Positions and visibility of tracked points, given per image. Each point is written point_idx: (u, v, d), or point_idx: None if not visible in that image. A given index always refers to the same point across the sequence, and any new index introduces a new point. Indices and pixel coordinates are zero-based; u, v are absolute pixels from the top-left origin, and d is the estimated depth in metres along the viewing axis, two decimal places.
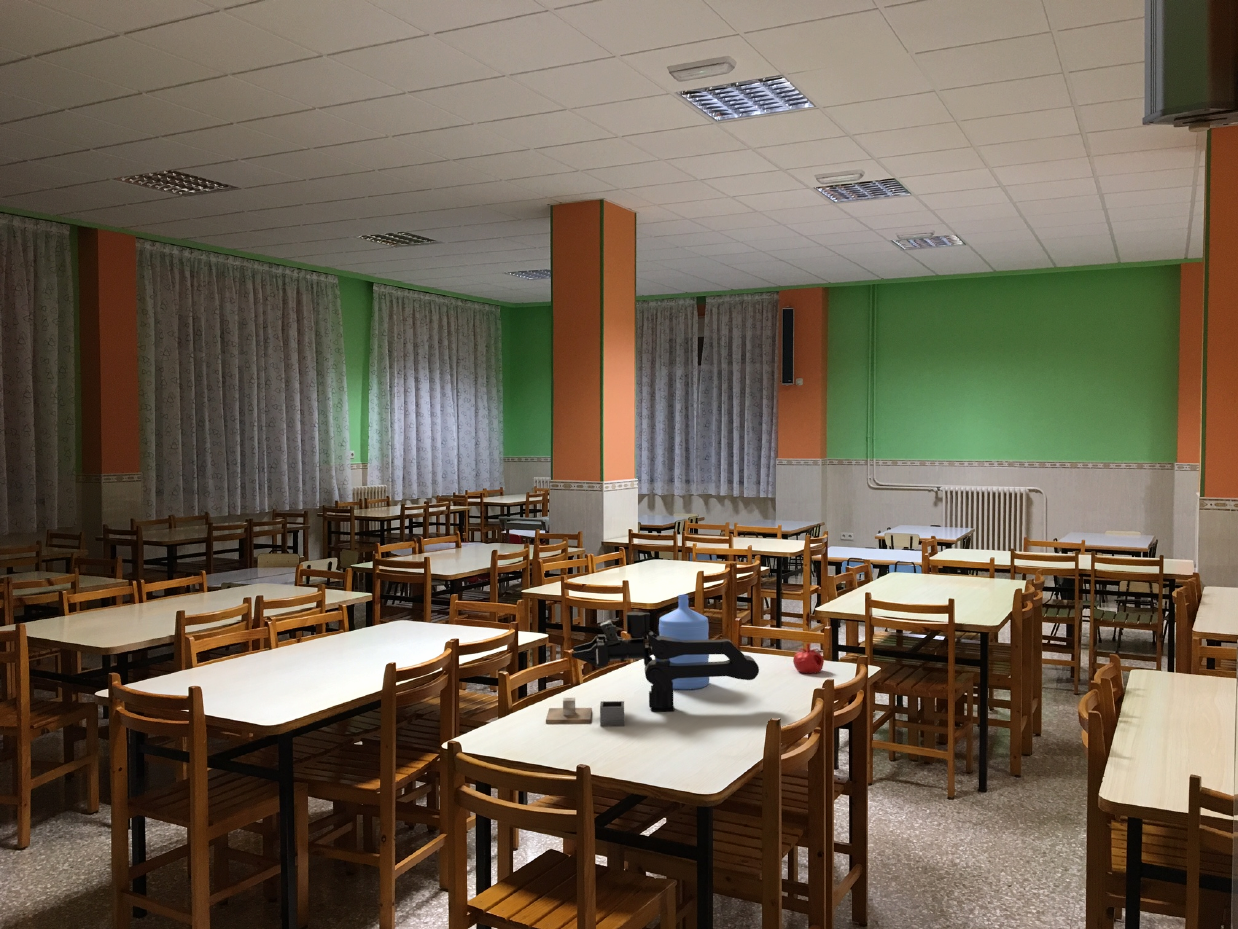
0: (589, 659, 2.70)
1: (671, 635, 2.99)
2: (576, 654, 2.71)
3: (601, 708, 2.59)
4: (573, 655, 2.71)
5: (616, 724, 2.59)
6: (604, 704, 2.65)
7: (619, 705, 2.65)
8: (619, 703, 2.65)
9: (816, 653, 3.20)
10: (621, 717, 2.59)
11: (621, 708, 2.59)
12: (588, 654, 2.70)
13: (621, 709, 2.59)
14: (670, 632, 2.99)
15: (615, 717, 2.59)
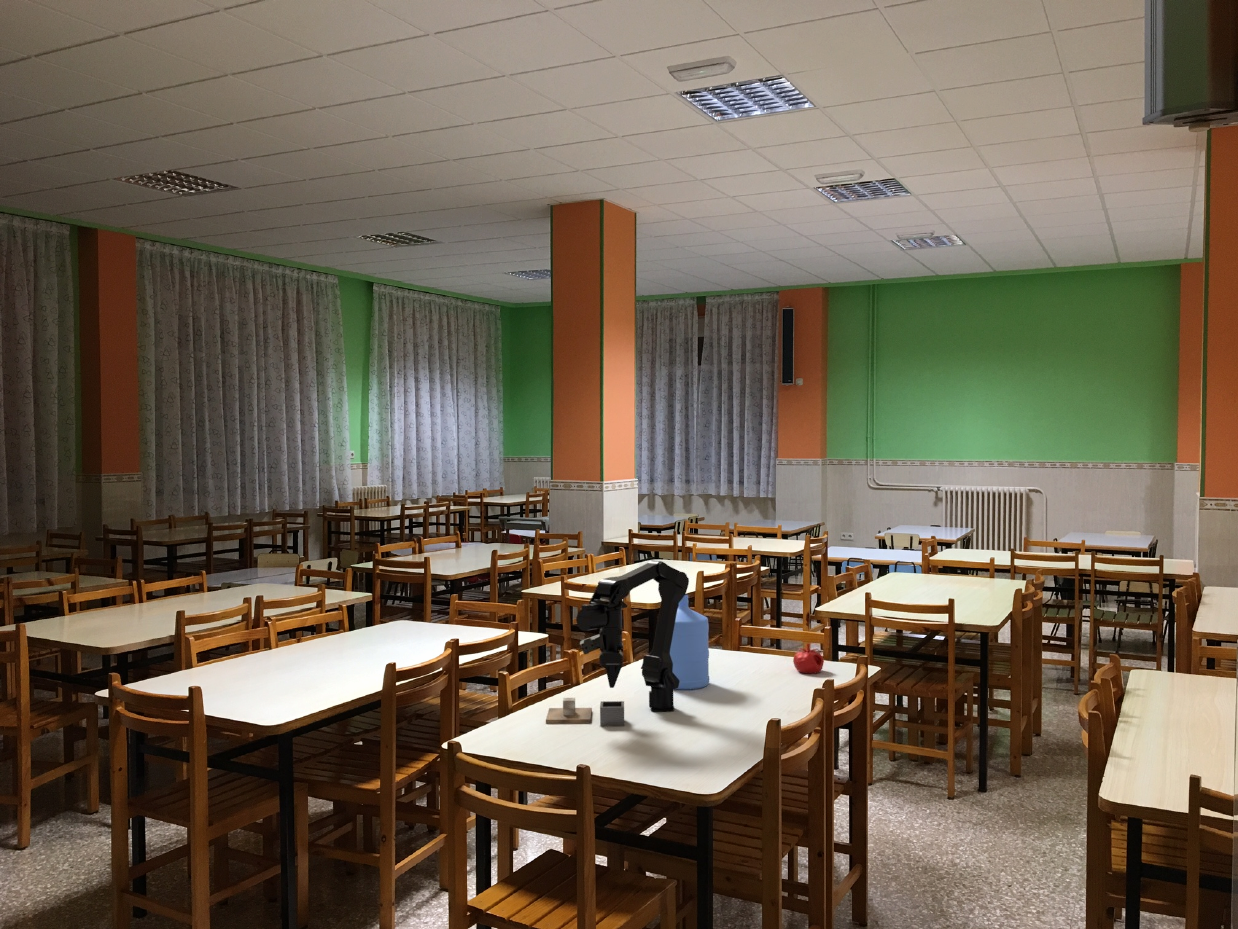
0: (616, 670, 2.56)
1: None
2: (611, 682, 2.57)
3: (601, 708, 2.59)
4: (611, 686, 2.58)
5: (616, 724, 2.59)
6: (604, 704, 2.65)
7: (619, 705, 2.65)
8: (619, 703, 2.65)
9: (816, 653, 3.20)
10: (621, 717, 2.59)
11: (621, 708, 2.59)
12: (611, 671, 2.57)
13: (621, 709, 2.59)
14: None
15: (615, 717, 2.59)
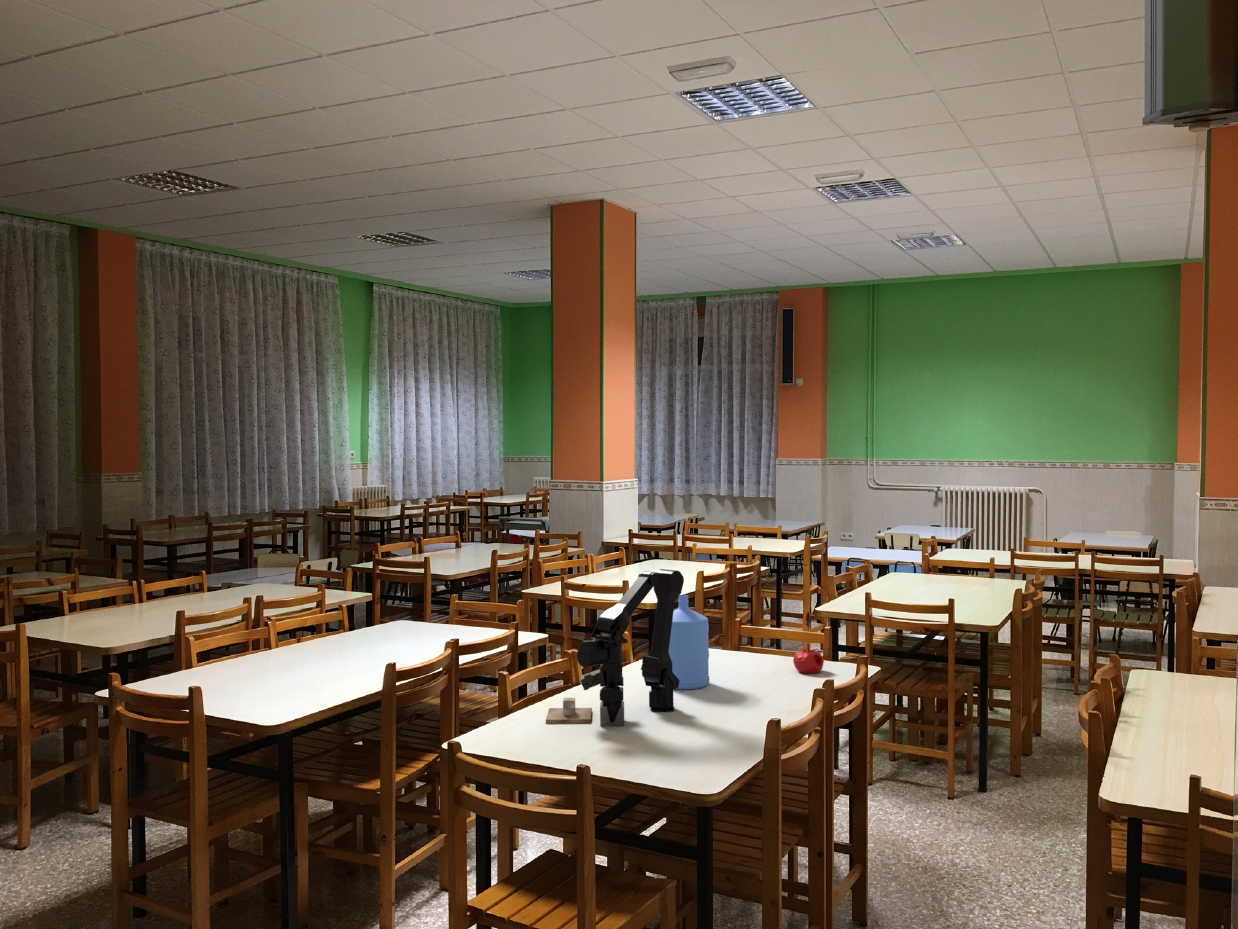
0: (616, 705, 2.58)
1: (671, 635, 2.99)
2: (611, 717, 2.59)
3: (601, 708, 2.59)
4: (612, 720, 2.59)
5: (616, 724, 2.59)
6: (604, 704, 2.65)
7: None
8: None
9: (816, 653, 3.20)
10: (621, 717, 2.59)
11: (621, 708, 2.59)
12: (611, 706, 2.58)
13: (621, 709, 2.59)
14: None
15: None
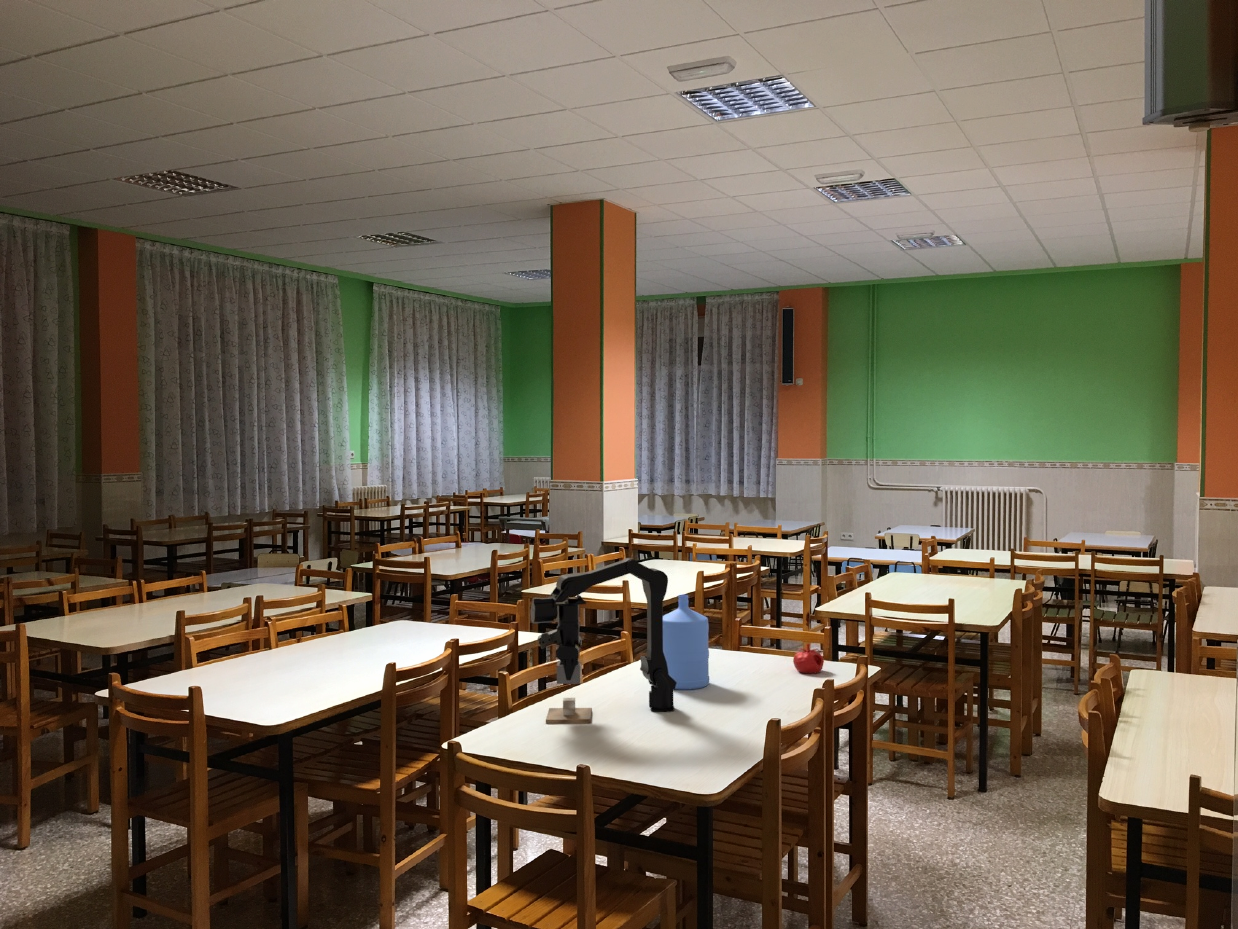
0: (572, 663, 2.64)
1: (671, 635, 2.99)
2: (567, 675, 2.64)
3: (558, 666, 2.65)
4: (568, 678, 2.65)
5: (572, 682, 2.65)
6: (561, 663, 2.71)
7: (576, 664, 2.71)
8: None
9: (816, 653, 3.20)
10: (577, 675, 2.65)
11: (577, 666, 2.65)
12: (567, 664, 2.64)
13: (577, 667, 2.65)
14: (670, 632, 2.99)
15: None
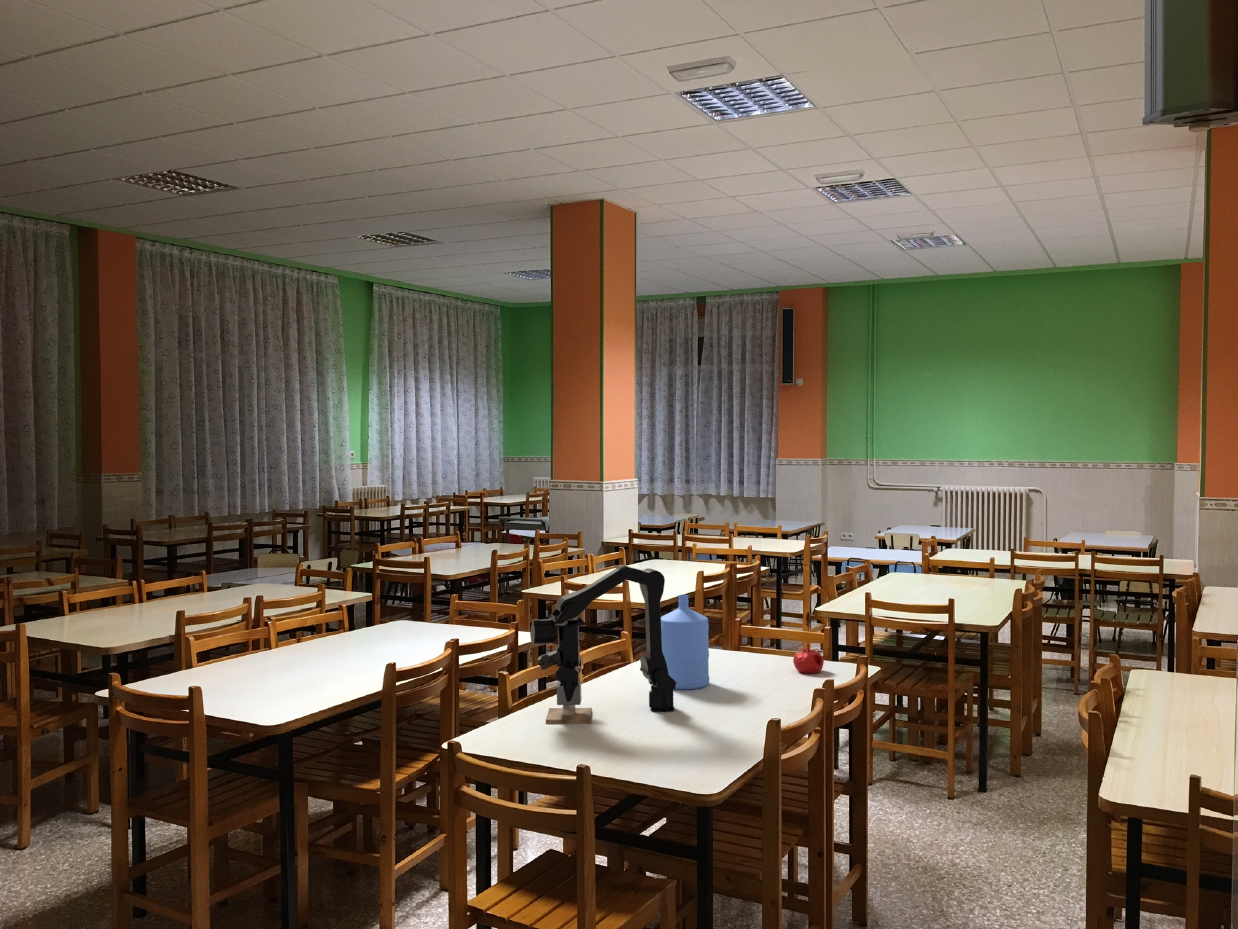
0: (572, 684, 2.64)
1: (671, 635, 2.99)
2: (567, 696, 2.65)
3: (558, 687, 2.65)
4: (568, 700, 2.65)
5: (572, 703, 2.65)
6: (562, 684, 2.71)
7: (576, 685, 2.71)
8: None
9: (816, 653, 3.20)
10: (577, 696, 2.65)
11: (577, 687, 2.65)
12: (567, 685, 2.64)
13: (577, 688, 2.65)
14: (670, 632, 2.99)
15: None
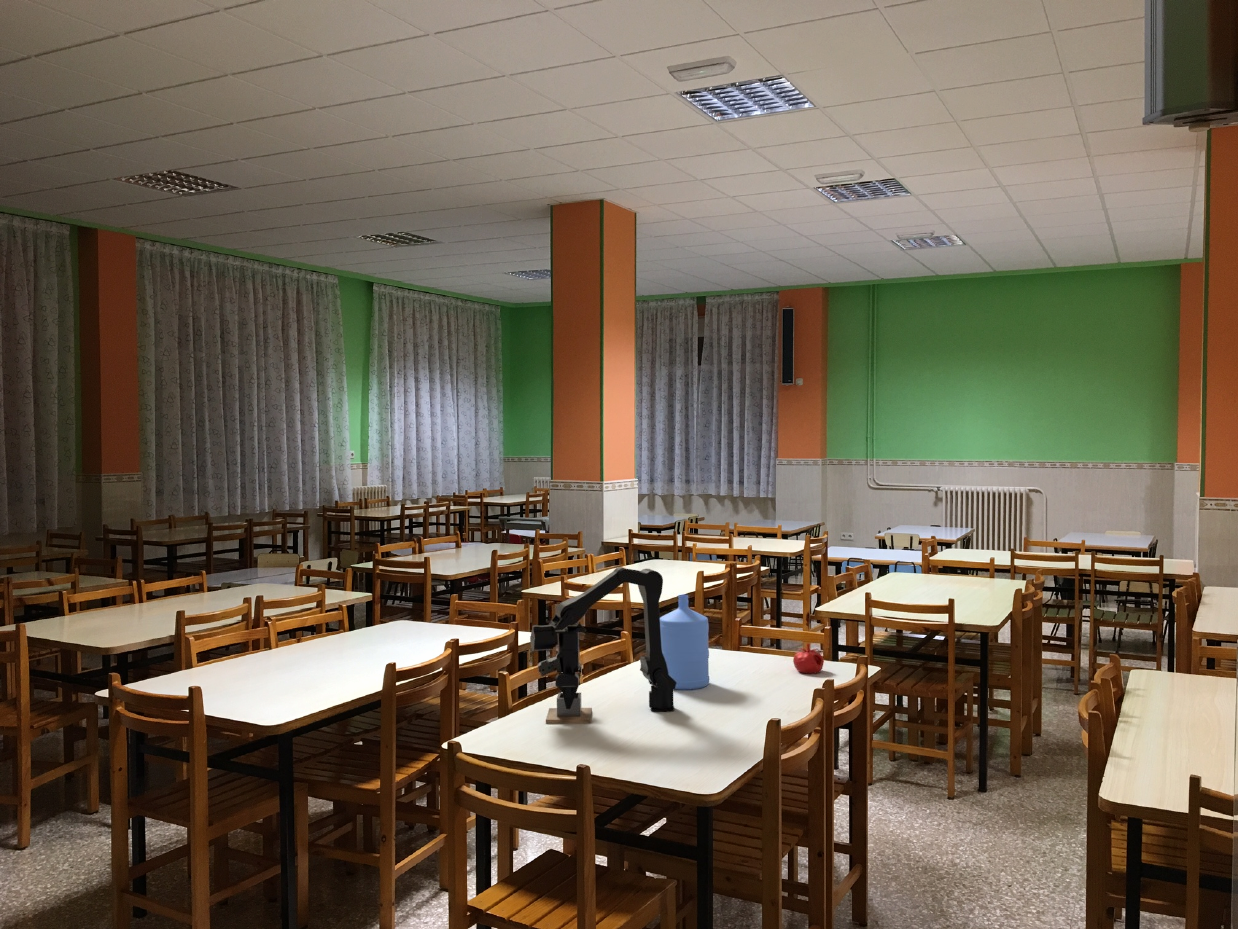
0: (572, 692, 2.63)
1: (671, 635, 2.99)
2: (567, 704, 2.63)
3: (558, 699, 2.65)
4: (568, 707, 2.64)
5: (572, 715, 2.65)
6: (562, 695, 2.71)
7: (576, 696, 2.71)
8: (576, 694, 2.71)
9: (816, 653, 3.20)
10: (577, 708, 2.65)
11: (577, 699, 2.65)
12: (567, 692, 2.63)
13: (577, 700, 2.65)
14: (670, 632, 2.99)
15: (571, 708, 2.65)
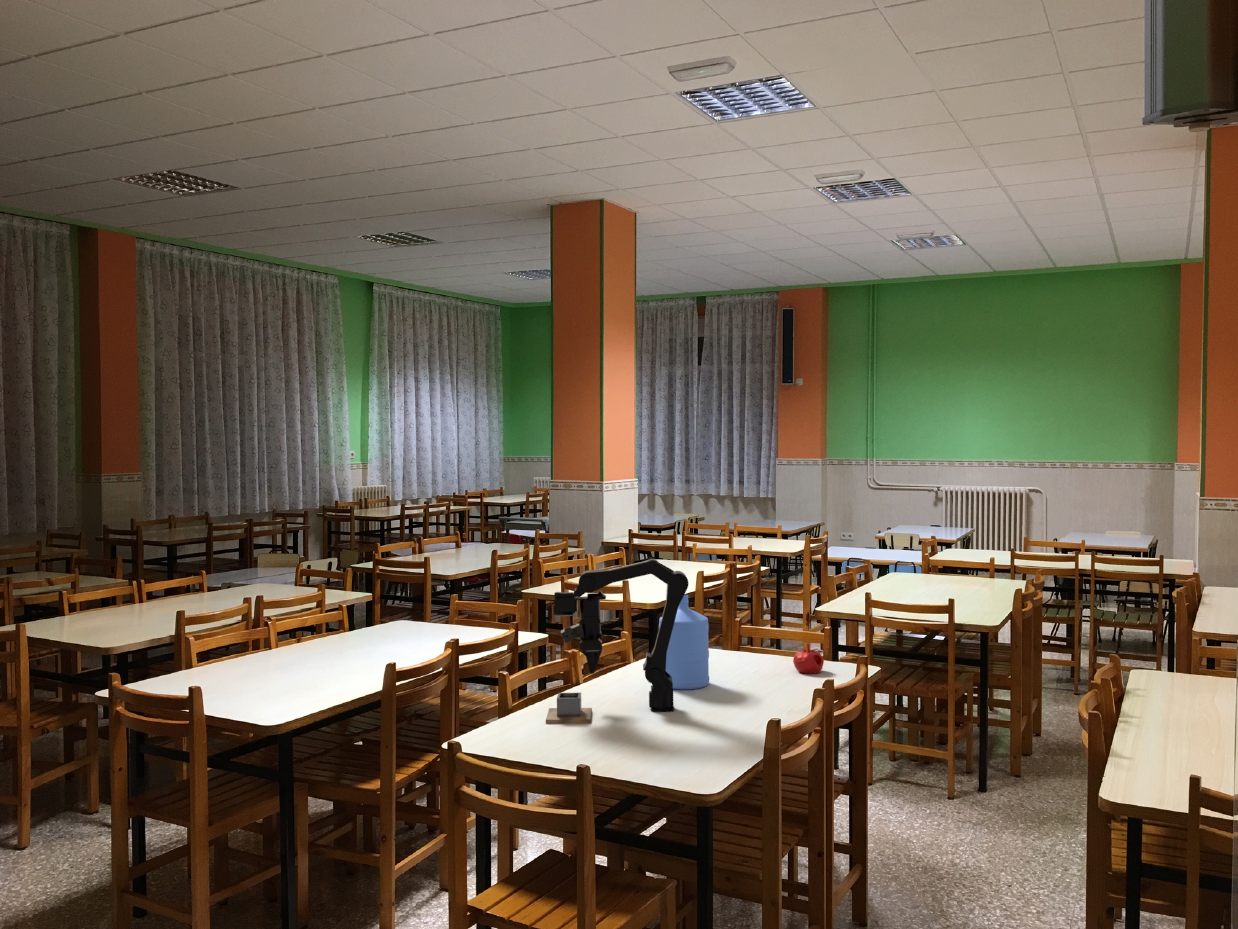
0: (595, 657, 2.71)
1: (671, 635, 2.99)
2: (591, 668, 2.71)
3: (558, 699, 2.65)
4: (592, 672, 2.72)
5: (572, 715, 2.65)
6: (562, 695, 2.71)
7: (576, 696, 2.71)
8: (576, 694, 2.71)
9: (816, 653, 3.20)
10: (577, 708, 2.65)
11: (577, 699, 2.65)
12: (590, 657, 2.71)
13: (577, 700, 2.65)
14: None
15: (571, 708, 2.65)
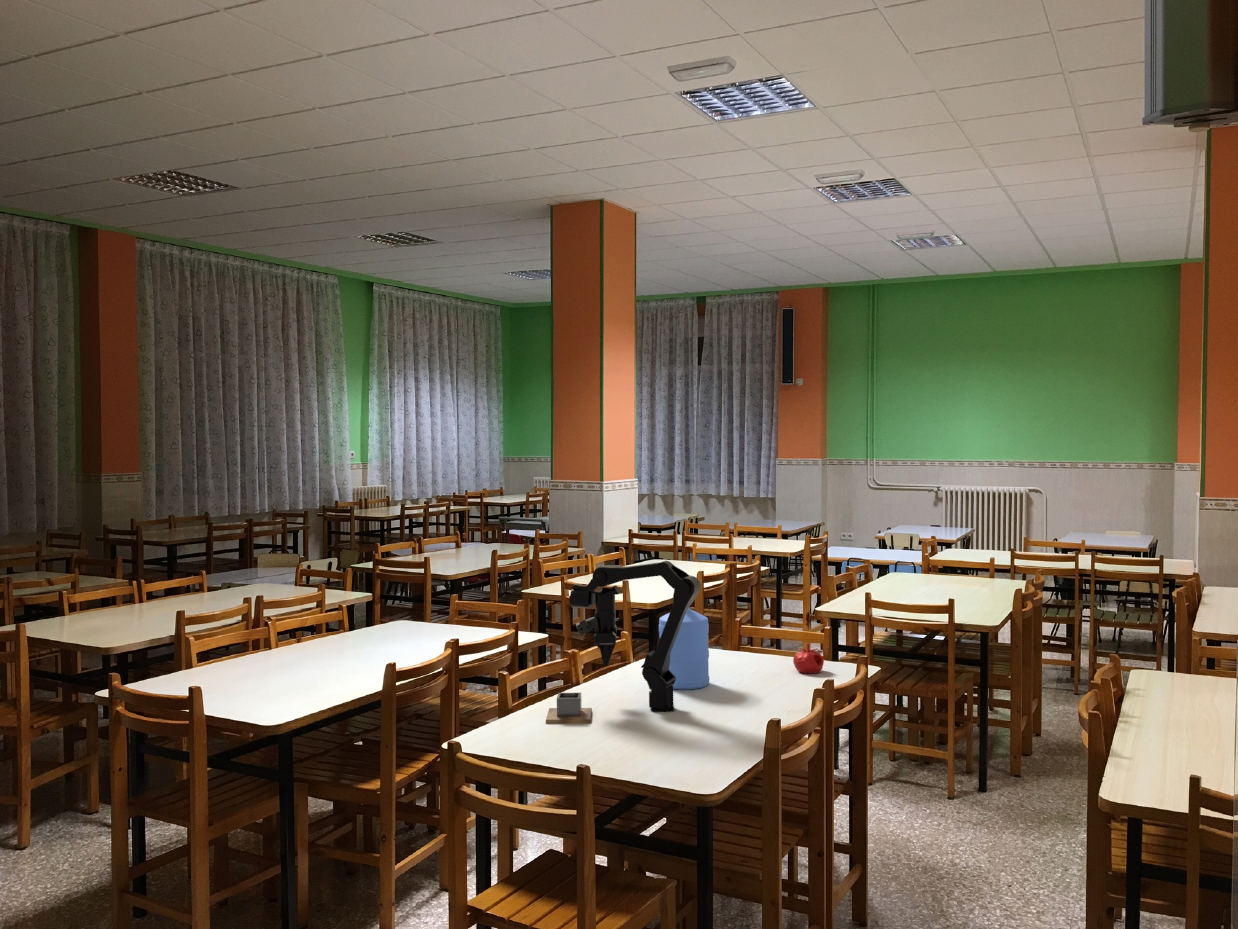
0: (609, 650, 2.76)
1: None
2: (604, 661, 2.77)
3: (558, 699, 2.65)
4: (605, 664, 2.78)
5: (572, 715, 2.65)
6: (562, 695, 2.71)
7: (576, 696, 2.71)
8: (576, 694, 2.71)
9: (816, 653, 3.20)
10: (577, 708, 2.65)
11: (577, 699, 2.65)
12: (604, 650, 2.77)
13: (577, 700, 2.65)
14: None
15: (571, 708, 2.65)
